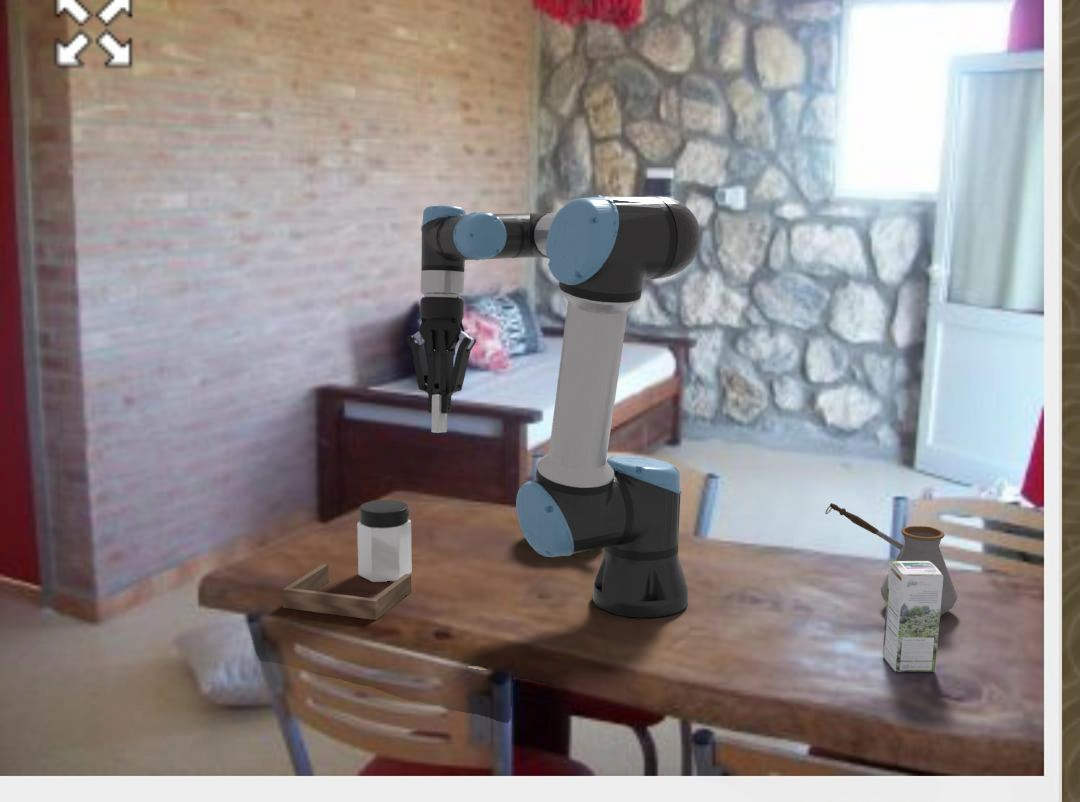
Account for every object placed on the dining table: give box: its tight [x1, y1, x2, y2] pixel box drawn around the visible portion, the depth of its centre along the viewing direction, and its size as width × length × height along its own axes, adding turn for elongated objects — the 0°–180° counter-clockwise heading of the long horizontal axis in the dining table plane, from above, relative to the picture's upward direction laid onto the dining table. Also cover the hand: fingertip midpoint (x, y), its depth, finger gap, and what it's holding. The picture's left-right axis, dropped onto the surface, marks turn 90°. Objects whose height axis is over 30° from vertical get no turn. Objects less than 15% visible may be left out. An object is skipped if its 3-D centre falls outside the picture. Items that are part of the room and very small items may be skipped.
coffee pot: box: [824, 502, 958, 618], centre depth 188 cm, size 21×12×15 cm, turn 55°
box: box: [282, 563, 412, 621], centre depth 189 cm, size 16×13×3 cm
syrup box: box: [882, 560, 943, 673], centre depth 164 cm, size 6×6×14 cm
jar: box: [356, 499, 413, 583], centre depth 200 cm, size 9×8×12 cm
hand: (439, 432), depth 207 cm, fingers closed
